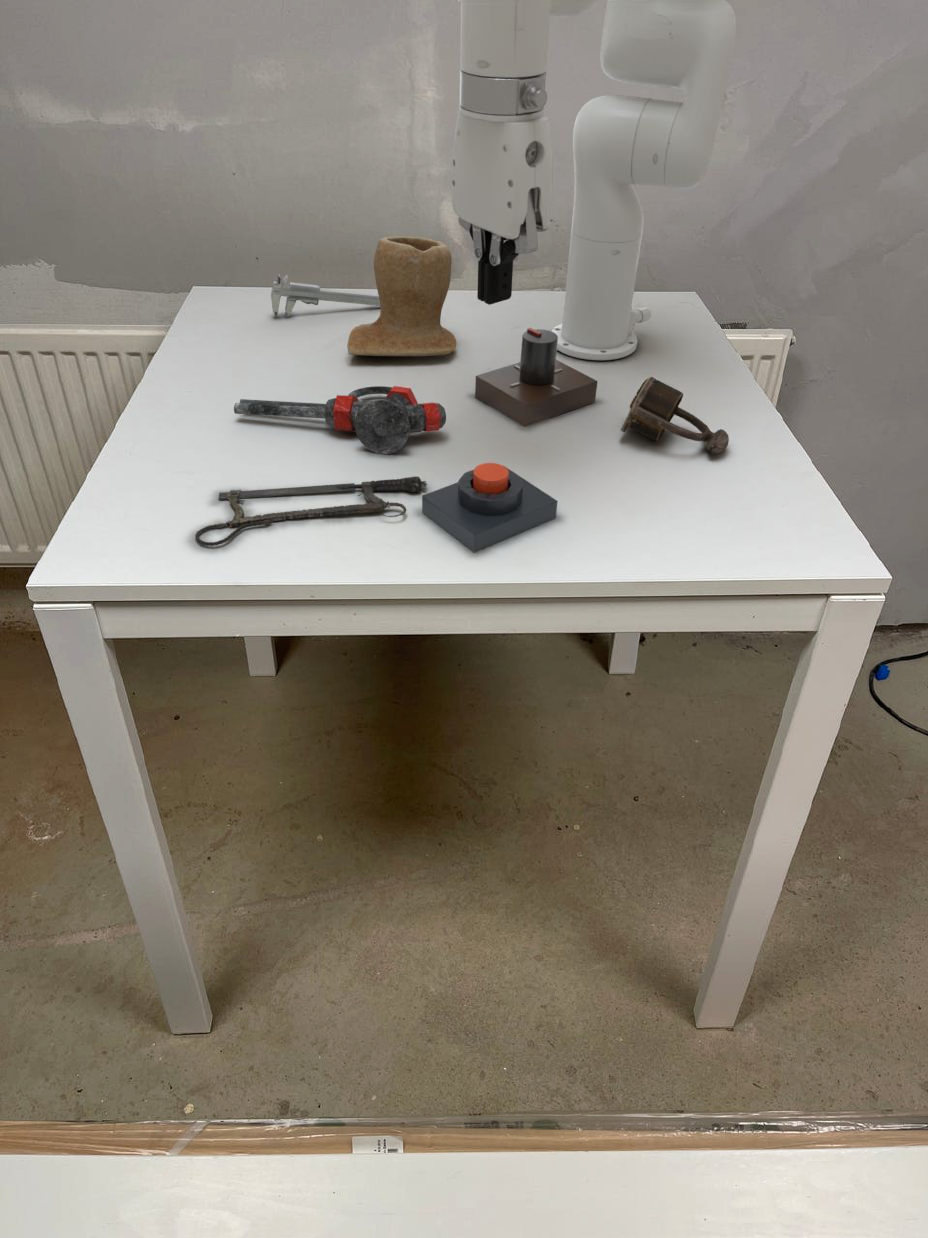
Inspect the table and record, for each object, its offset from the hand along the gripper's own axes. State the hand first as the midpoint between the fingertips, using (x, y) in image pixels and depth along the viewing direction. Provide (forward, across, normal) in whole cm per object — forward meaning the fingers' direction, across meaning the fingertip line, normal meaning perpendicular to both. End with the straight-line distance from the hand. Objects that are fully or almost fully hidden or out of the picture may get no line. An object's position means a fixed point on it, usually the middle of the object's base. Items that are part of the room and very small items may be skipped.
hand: (494, 298), depth 91 cm
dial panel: (+19, +9, -15) cm, 26 cm away
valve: (+19, +18, +8) cm, 27 cm away
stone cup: (+20, +32, -10) cm, 39 cm away
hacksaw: (+19, +2, +22) cm, 29 cm away
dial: (+16, +9, -15) cm, 24 cm away
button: (+15, -9, +7) cm, 19 cm away
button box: (+19, -9, +7) cm, 22 cm away
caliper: (+20, +49, -10) cm, 54 cm away
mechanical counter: (+20, -9, -21) cm, 30 cm away
